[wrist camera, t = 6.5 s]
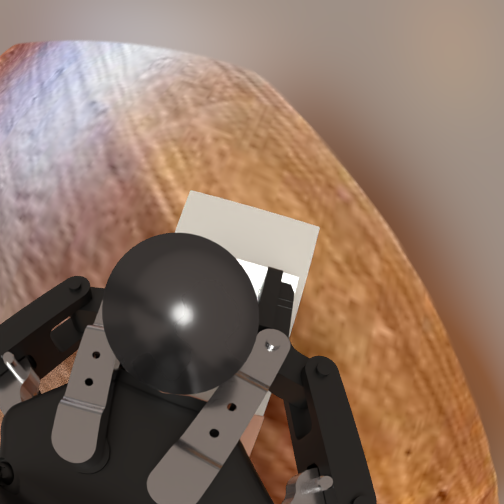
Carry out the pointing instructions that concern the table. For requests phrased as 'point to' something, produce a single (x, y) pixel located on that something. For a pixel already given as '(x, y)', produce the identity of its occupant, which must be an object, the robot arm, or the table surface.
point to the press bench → (252, 254)
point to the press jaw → (183, 312)
